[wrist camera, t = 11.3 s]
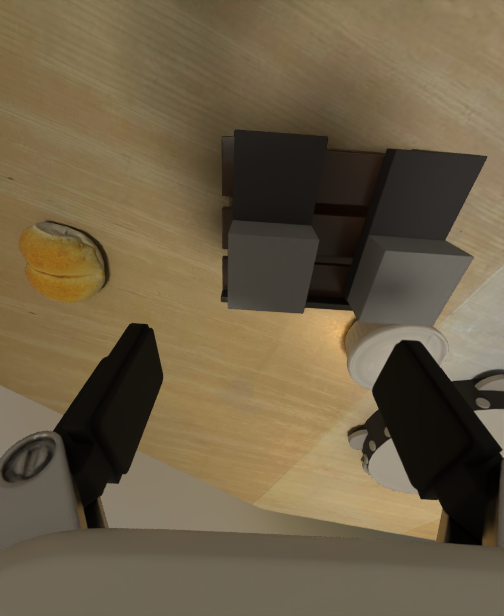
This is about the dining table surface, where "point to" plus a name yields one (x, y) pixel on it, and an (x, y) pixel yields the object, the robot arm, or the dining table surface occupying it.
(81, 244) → the bread roll
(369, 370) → the ramekin
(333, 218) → the rack
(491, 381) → the tambourine
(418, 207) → the grey block
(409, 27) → the dining table surface
